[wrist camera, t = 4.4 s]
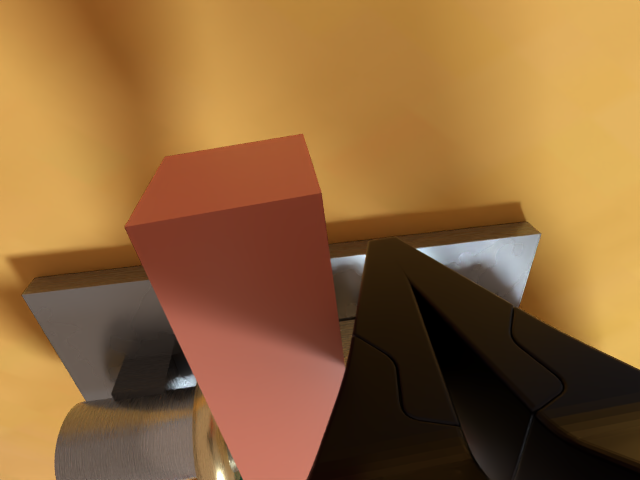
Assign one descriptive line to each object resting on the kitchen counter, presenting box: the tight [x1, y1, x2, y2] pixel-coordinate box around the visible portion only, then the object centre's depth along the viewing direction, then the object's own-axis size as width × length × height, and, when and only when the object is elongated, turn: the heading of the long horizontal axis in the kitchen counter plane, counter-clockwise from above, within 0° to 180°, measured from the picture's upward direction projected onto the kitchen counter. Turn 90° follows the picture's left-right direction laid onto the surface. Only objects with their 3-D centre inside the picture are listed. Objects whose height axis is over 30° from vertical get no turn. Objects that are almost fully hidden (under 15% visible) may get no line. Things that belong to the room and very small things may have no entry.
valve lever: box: [125, 134, 345, 480], centre depth 11 cm, size 16×3×3 cm, turn 7°
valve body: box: [22, 222, 541, 480], centre depth 19 cm, size 24×14×8 cm, turn 93°
